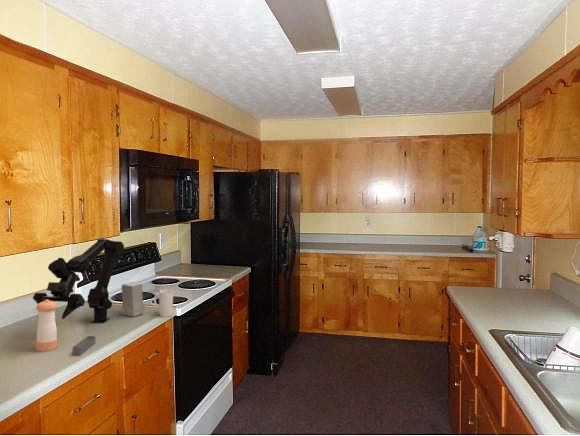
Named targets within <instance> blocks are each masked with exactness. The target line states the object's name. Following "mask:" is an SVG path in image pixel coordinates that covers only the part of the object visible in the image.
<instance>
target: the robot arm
mask: <svg viewBox="0 0 580 436" xmlns="http://www.w3.org/2000/svg"><path fill="white" fill-rule="evenodd" d="M124 250H125V245H124V243H123V242H122V241H119V240H118V241H117V240H116V241H115V240H110V239H108V238H99V239H97V241H96V242H95V243H93V244H92V245H91V246H89V248H88V249H86V250H85V251H84V252H82V254H79V255H76V256H74V257H72V258H71V259H69V260H68V261H66V260H65V259H64V258H63V257H57V259H56V260H53V261H51V262H50V263H49V265H48V267H47V269H48V270H49V272H50V273H52V274H53V275H54V277H56V279H59V281H57V282H55V281H53V282H51V281H50V282H48V283H47V288H46V291H49V292H50V293H49V294H51V295H48V294H47V293H46V292H35V293H34V294H33V296H32V300H34V301H35V303H36V304H37V305H38V304H39V303H41V302H43V301H45V300H47V299H48V300H49V301H54V302H63V303H65V302H66V303H67V305H66V306H65V309H64V310H63V312H62V315H61V319H62V320H65V318H67V317H68V316H69V315H70V314H72V313H73V312H74V311H75V310H77V309H80V308H81V307H84V305H85V304H86V300H85V298H84V297H83V296H82V294H81V293H73V292H74V289H73V288H74V286H75V284H76V283H77V282H80V281H81V279H80V278H81V277H79V273H80V274H83V273H85V272H86V271H87V270H88V268H89V267H90V265H91V262H92V261H93V260H94V259H96V257H98V256H99V255H101V253H102V252H103V254H104V256H105V258H104V261H103V264H102V267H101V270H100V273H99V276H98V279H97V281H96V285H95V287H93V288H90V289H89V292H88V295H87V304H88V306H89V309H93V319H92V320H90V323H101V324H103V323H105V322H106V323H107V321H108V320H110V319H111V318H110V317H108V310H109V309H110V308H112V306H113V302H112V301H111V300H110V299H109V295H110V294H109V291H108V287H109V284H110V280H111V278H112V275H113V272H114V269H115V265H116V261H117V260H118V259H119V258H120V257H122V254H123V252H124ZM77 273H78V274H77ZM37 312H38V315H37V317H38V318H37V319H39V311H37Z"/></svg>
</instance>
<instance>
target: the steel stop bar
mask: <svg viewBox="0 0 580 436" xmlns="http://www.w3.org/2000/svg"><path fill="white" fill-rule="evenodd" d="M95 344H96V336H94V335H93V336H92V335H91V336H90V335H89V336H86V337H85V338H84V339H82V340H80V342H78V343H76V344H75V345H73V346H72V356H81V355H83V354H84V353H86V352H87V351H88V350H89V349H91V348H92V347H93V346H94V345H95Z"/></svg>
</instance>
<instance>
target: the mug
mask: <svg viewBox="0 0 580 436" xmlns="http://www.w3.org/2000/svg"><path fill="white" fill-rule="evenodd" d="M157 298H158V302H157ZM153 303H154V306H155V309H156V310H158V313H159V316H160V317H161V318H162V317H163V318H167V317H171V316H172V315H173V309H174V308H173V305H174V291H173V290H169V289H167V290H166V289H164V290H159V292H155V295H154V297H153Z"/></svg>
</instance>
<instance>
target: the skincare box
mask: <svg viewBox="0 0 580 436" xmlns="http://www.w3.org/2000/svg"><path fill="white" fill-rule="evenodd" d="M143 293H144V292H143V284H142V283H140V282H139V283H138V282H133V281H132V282H127V283H122V284H121V299H122V315H124V316H128V317H132V316H133V317H134V316H135V317H137V315H138V316H141V315H143V314H144V300H143V299H144V298H143V297H144V295H143ZM142 313H143V314H142ZM140 314H141V315H140ZM135 317H134V318H135Z"/></svg>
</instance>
